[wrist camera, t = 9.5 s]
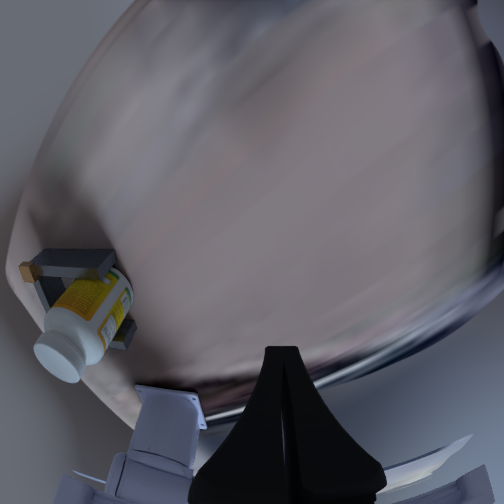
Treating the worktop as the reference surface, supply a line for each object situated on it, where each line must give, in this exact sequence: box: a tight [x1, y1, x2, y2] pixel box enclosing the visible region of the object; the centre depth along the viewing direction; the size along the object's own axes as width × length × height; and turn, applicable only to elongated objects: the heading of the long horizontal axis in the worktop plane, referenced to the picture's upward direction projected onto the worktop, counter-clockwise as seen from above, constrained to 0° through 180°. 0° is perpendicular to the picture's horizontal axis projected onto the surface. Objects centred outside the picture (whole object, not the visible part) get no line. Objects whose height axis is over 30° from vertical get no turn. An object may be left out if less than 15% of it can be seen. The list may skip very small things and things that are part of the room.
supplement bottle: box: [34, 267, 133, 383], centre depth 19 cm, size 5×5×10 cm
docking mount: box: [18, 249, 137, 350], centre depth 21 cm, size 9×9×4 cm
